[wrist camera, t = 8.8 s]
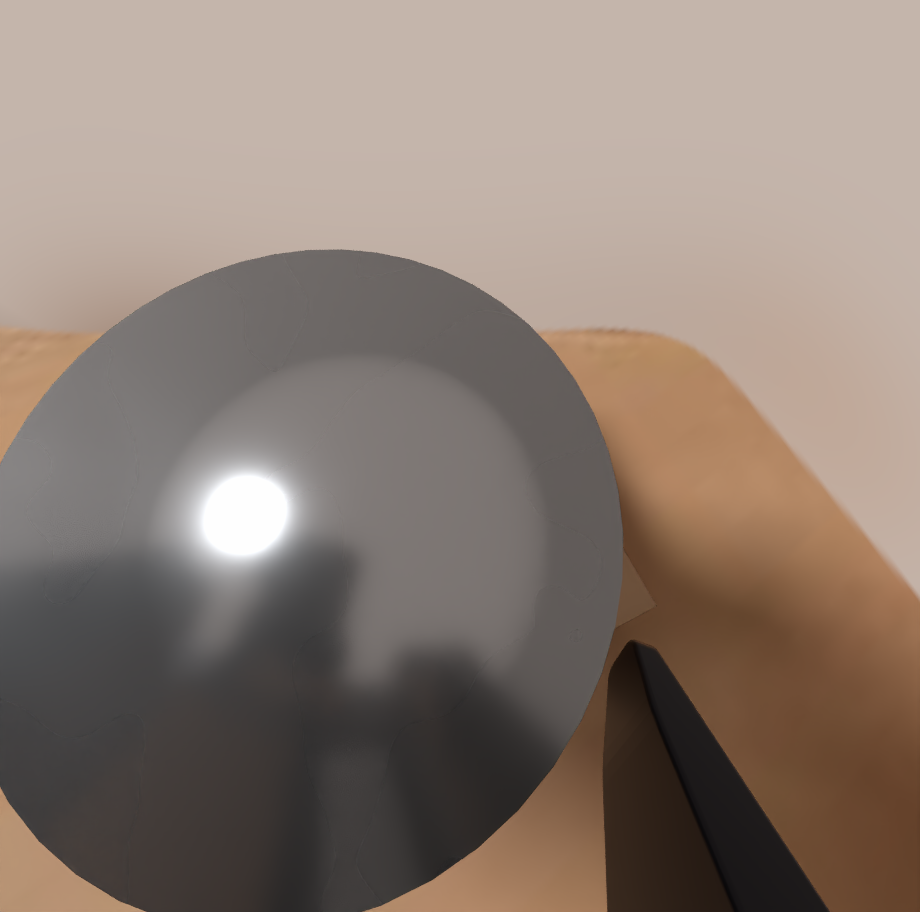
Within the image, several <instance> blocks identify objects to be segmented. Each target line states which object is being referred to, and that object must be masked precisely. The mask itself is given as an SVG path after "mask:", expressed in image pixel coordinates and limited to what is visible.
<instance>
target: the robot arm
mask: <svg viewBox="0 0 920 912" xmlns="http://www.w3.org/2000/svg"><path fill="white" fill-rule="evenodd" d="M603 804H604V832H605V859H606V887H607V912H830V911H829V910H828V908H827V907H826V905H825V904H824V902H823V900H822V899H821V897H820V896H819V894H818V893H817V891H816V890H815V888H814V887H813V885H812V884H811V882H810V881H809V879H808V878H807V876H806V875H805V873H804V872H803V870H802V869H801V867H800V866H799V864H798V863H797V861H796V860H795V858H794V857H793V855H792V854H791V852H790V850H789V849H788V847H787V846H786V844H785V843H784V841H783V840H782V838H781V837H780V835H779V834H778V832H777V831H776V829H775V828H774V826H773V825H772V823H771V822H770V820H769V819H768V817H767V816H766V814H765V813H764V811H763V810H762V808H761V807H760V805H759V804H758V802H757V801H756V799H755V797H754V796H753V794H752V793H751V791H750V790H749V788H748V787H747V785H746V784H745V782H744V781H743V779H742V778H741V776H740V775H739V773H738V772H737V770H736V769H735V767H734V766H733V764H732V763H731V761H730V760H729V758H728V757H727V755H726V754H725V752H724V751H723V749H722V748H721V746H720V744H719V743H718V741H717V740H716V738H715V737H714V735H713V734H712V732H711V731H710V729H709V728H708V726H707V725H706V723H705V722H704V720H703V719H702V717H701V716H700V714H699V713H698V711H697V710H696V708H695V707H694V705H693V704H692V702H691V701H690V699H689V698H688V696H687V694H686V693H685V691H684V690H683V688H682V687H681V685H680V684H679V682H678V681H677V679H676V678H675V676H674V675H673V673H672V672H671V670H670V669H669V667H668V666H667V664H666V663H665V661H664V660H663V658H662V657H661V655H660V654H659V652H658V651H657V650H656V649H655V648H654V647H652V646H650V645H647V644H645V643H642V642H639V641H636V640H630V641H629V642H628V643H627V644H626V646H625V647H624V649H623V650H622V652H621V653H620V655H619V656H618V658H617V659H616V661H615V662H614V664H613V665H612V667H611V670H610V673H609V678H608V692H607V707H606V722H605V737H604V752H603Z"/></svg>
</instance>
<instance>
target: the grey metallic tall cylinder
mask: <svg viewBox="0 0 920 912" xmlns="http://www.w3.org/2000/svg"><path fill="white" fill-rule="evenodd" d="M622 571H623V528H622V519H621V510H620V501H619V492H618V487H617V483H616V479H615V475H614V471H613V467H612V463H611V459H610V455H609V451H608V448H607V446H606V443H605V441H604V438H603V436H602V433H601V430H600V428H599V425H598V423H597V420H596V418H595V415H594V413H593V411H592V409H591V407H590V406H589V404H588V402H587V400H586V398H585V397H584V395H583V393H582V391H581V389H580V388H579V386H578V384H577V382H576V380H575V379H574V378H573V376H572V375H571V374H570V372H569V371H568V369H567V368H566V367H565V365H564V364H563V363H562V361H561V360H560V359H559V357H558V356H557V354H556V353H555V352H554V350H553V349H552V348H551V347H550V346H549V345H548V344H547V343H546V342H545V341H544V340H543V339H542V338H541V337H540V336H539V335H538V334H537V333H536V332H535V331H534V330H533V328H532V327H531V326H530V325H529V324H527V323H526V322H525V321H524V320H522V319H521V318H520V317H519V316H518V315H516V314H515V313H514V312H512V311H511V310H510V309H509V308H507V307H506V306H505V305H504V304H502V303H501V302H500V301H498V300H497V299H495V298H493V297H492V296H490V295H489V294H487V293H485V292H484V291H482V290H480V289H479V288H477V287H476V286H474V285H473V284H470V283H468V282H466V281H464V280H462V279H460V278H458V277H455V276H453V275H451V274H449V273H447V272H445V271H443V270H440V269H437V268H434V267H431V266H428V265H425V264H422V263H418V262H416V261H412V260H409V259H405V258H400V257H394V256H390V255H385V254H380V253H374V252H363V251H352V250H306V251H298V252H291V253H282V254H274V255H269V256H265V257H261V258H257V259H252V260H248V261H244V262H239V263H236V264H234V265H230V266H228V267H224V268H221V269H218V270H215V271H212V272H210V273H207V274H204V275H202V276H200V277H197V278H195V279H193V280H191V281H189V282H187V283H184V284H182V285H180V286H178V287H175V288H173V289H171V290H170V291H168V292H166V293H164V294H163V295H161V296H159V297H157V298H156V299H154V300H152V301H151V302H149V303H147V304H146V305H144V306H142V307H141V308H139V309H137V310H136V311H135V312H133V313H132V314H130V315H129V316H128V317H126V318H125V319H123V320H122V321H121V322H119V323H118V324H117V325H115V326H114V327H112V328H111V329H109V330H108V331H107V332H106V333H105V334H104V335H102V336H101V337H100V338H99V339H98V340H97V341H96V342H95V343H93V344H92V345H91V346H90V347H89V348H88V349H87V350H85V351H84V352H83V353H82V354H81V355H80V356H79V357H78V358H77V359H76V360H75V361H74V362H73V363H72V364H71V365H70V366H69V367H68V369H67V370H66V371H65V372H64V373H63V374H62V375H61V376H60V377H59V378H58V379H57V380H56V381H55V382H54V384H53V385H52V386H51V387H50V388H49V390H48V391H47V392H46V394H45V395H44V396H43V398H42V399H41V400H40V402H39V403H38V404H37V406H36V407H35V408H34V409H33V411H32V412H31V413H30V415H29V416H28V417H27V419H26V420H25V422H24V424H23V425H22V427H21V429H20V430H19V432H18V434H17V435H16V437H15V439H14V440H13V442H12V444H11V445H10V447H9V448H8V450H7V452H6V453H5V455H4V457H3V460H2V462H1V464H0V787H1V789H2V791H3V793H4V795H5V796H6V798H7V800H8V802H9V804H10V805H11V806H12V807H13V809H14V810H15V811H16V812H17V814H18V815H19V816H20V818H21V819H22V820H23V821H24V823H25V824H26V825H27V826H28V828H29V829H30V830H31V832H32V833H33V834H34V835H35V837H36V838H37V839H38V841H39V842H40V843H42V844H43V845H44V846H45V847H46V848H47V849H48V850H49V851H51V852H52V853H53V854H54V855H55V856H56V857H57V858H58V859H59V860H61V861H62V862H63V863H64V864H65V865H66V866H67V867H68V868H69V869H71V870H72V871H73V872H74V873H75V874H76V875H78V876H79V877H81V878H83V879H84V880H86V881H88V882H89V883H91V884H92V885H94V886H96V887H97V888H99V889H101V890H102V891H104V892H105V893H107V894H109V895H110V896H112V897H114V898H115V899H117V900H118V901H121V902H123V903H126V904H128V905H131V906H134V907H136V908H139V909H141V910H144V911H146V912H363V911H366V910H369V909H372V908H375V907H378V906H381V905H383V904H385V903H387V902H389V901H391V900H393V899H395V898H397V897H399V896H401V895H403V894H405V893H407V892H409V891H411V890H413V889H415V888H417V887H419V886H421V885H423V884H425V883H427V882H429V881H431V880H433V879H434V878H436V877H437V876H439V875H440V874H441V873H443V872H444V871H446V870H447V869H449V868H450V867H451V866H453V865H454V864H456V863H457V862H459V861H460V860H461V859H463V858H464V857H466V856H467V855H469V854H470V853H471V852H473V851H474V850H476V849H477V848H478V847H480V846H481V845H482V844H483V843H484V842H485V841H486V840H487V839H488V838H489V837H490V836H491V835H492V834H493V833H494V832H495V831H497V830H498V829H499V828H500V827H501V826H502V825H503V824H504V823H505V822H506V821H507V820H508V819H509V818H510V817H511V816H513V815H514V814H515V813H516V812H517V811H518V810H519V809H520V808H521V806H522V805H523V804H524V803H525V801H526V800H527V799H528V798H529V796H530V795H531V794H532V793H533V791H534V790H535V789H536V788H537V786H538V785H539V784H540V783H541V781H542V780H543V779H544V778H545V777H546V775H547V774H548V773H549V772H550V770H551V769H552V768H553V767H554V765H555V763H556V762H557V760H558V758H559V757H560V755H561V753H562V752H563V750H564V748H565V747H566V745H567V743H568V742H569V740H570V738H571V737H572V735H573V733H574V732H575V730H576V728H577V727H578V725H579V724H580V722H581V720H582V718H583V715H584V713H585V711H586V708H587V706H588V704H589V702H590V699H591V697H592V695H593V692H594V690H595V688H596V685H597V683H598V681H599V679H600V676H601V674H602V671H603V667H604V664H605V660H606V657H607V653H608V650H609V646H610V643H611V639H612V636H613V632H614V629H615V625H616V618H617V611H618V605H619V598H620V591H621V585H622Z"/></svg>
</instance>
